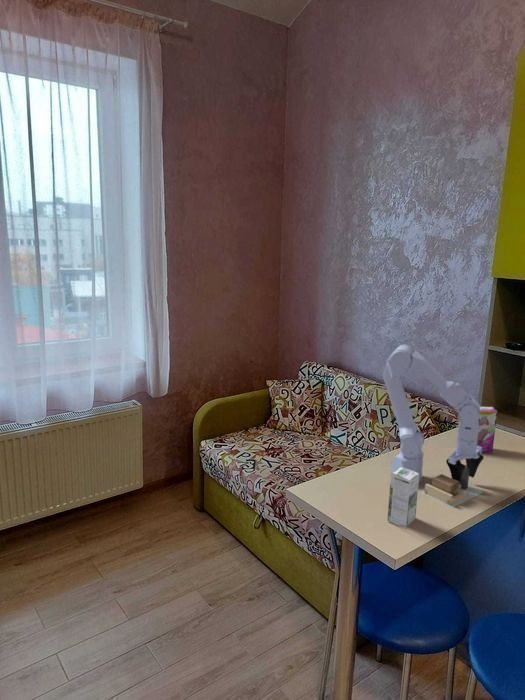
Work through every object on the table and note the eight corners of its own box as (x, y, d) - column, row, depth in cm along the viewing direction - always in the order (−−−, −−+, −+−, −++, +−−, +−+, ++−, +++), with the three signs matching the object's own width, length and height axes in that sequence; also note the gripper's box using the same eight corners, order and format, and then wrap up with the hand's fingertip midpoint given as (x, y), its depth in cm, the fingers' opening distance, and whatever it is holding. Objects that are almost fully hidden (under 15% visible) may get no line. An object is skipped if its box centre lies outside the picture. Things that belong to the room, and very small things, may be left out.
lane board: (452, 510, 140) (453, 498, 139) (420, 494, 149) (421, 483, 148) (483, 494, 149) (484, 482, 148) (451, 480, 158) (452, 469, 157)
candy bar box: (461, 452, 180) (465, 409, 176) (457, 446, 185) (461, 405, 181) (493, 453, 179) (497, 410, 175) (488, 447, 184) (492, 406, 180)
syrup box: (396, 513, 139) (399, 466, 136) (416, 520, 135) (419, 472, 132) (386, 521, 135) (389, 473, 132) (407, 529, 131) (410, 479, 128)
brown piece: (448, 501, 143) (450, 482, 142) (431, 493, 148) (432, 474, 147) (474, 489, 150) (476, 470, 149) (456, 481, 155) (458, 463, 154)
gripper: (465, 448, 141) (461, 491, 144) (492, 437, 150) (488, 478, 152) (443, 440, 147) (440, 482, 150) (471, 430, 155) (467, 469, 158)
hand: (463, 479), depth 152 cm, fingers open, 7 cm apart
